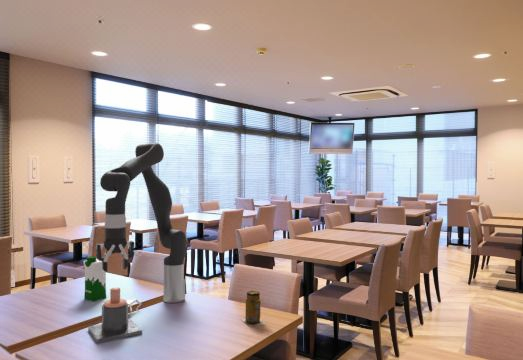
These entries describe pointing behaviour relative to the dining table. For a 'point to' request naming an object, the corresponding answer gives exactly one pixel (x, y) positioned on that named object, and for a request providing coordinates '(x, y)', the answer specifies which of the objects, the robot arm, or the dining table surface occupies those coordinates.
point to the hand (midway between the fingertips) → (115, 270)
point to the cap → (115, 299)
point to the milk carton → (94, 279)
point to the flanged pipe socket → (114, 325)
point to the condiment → (253, 309)
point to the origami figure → (132, 303)
